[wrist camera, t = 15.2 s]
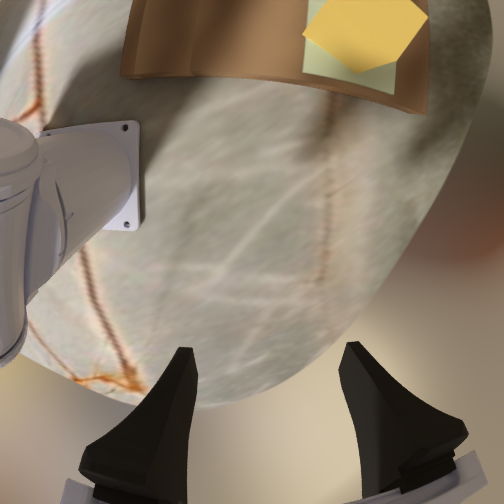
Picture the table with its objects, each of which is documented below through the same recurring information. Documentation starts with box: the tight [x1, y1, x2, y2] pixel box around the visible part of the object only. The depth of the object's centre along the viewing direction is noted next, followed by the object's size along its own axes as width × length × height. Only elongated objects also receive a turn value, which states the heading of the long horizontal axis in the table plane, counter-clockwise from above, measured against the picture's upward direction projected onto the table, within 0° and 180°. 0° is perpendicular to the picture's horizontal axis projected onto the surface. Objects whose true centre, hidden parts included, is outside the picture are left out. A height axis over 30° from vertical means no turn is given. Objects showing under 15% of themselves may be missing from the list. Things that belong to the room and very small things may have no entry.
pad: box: [302, 0, 396, 95], centre depth 12 cm, size 6×6×1 cm
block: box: [302, 0, 428, 74], centre depth 10 cm, size 4×4×5 cm
